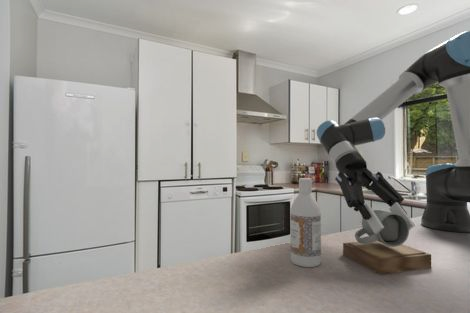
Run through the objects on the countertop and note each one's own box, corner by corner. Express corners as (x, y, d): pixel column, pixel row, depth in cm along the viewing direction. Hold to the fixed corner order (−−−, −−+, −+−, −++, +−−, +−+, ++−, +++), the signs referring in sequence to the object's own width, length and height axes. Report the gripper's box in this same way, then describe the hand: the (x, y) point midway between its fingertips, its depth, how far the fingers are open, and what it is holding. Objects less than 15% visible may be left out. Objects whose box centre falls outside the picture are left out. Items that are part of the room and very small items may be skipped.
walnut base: (387, 250, 69) (387, 237, 70) (431, 267, 58) (431, 253, 58) (343, 254, 66) (343, 241, 66) (380, 274, 54) (380, 258, 54)
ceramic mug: (386, 235, 67) (385, 206, 67) (410, 245, 59) (409, 212, 59) (348, 238, 66) (346, 208, 66) (367, 249, 58) (365, 215, 58)
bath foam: (285, 258, 63) (285, 177, 64) (308, 255, 65) (308, 177, 66) (301, 270, 57) (301, 179, 57) (327, 265, 59) (326, 179, 59)
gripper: (370, 169, 80) (419, 235, 64) (311, 169, 75) (348, 241, 59) (384, 151, 75) (441, 218, 59) (321, 150, 70) (365, 223, 54)
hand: (395, 229), depth 59 cm, fingers closed on ceramic mug, 8 cm apart
